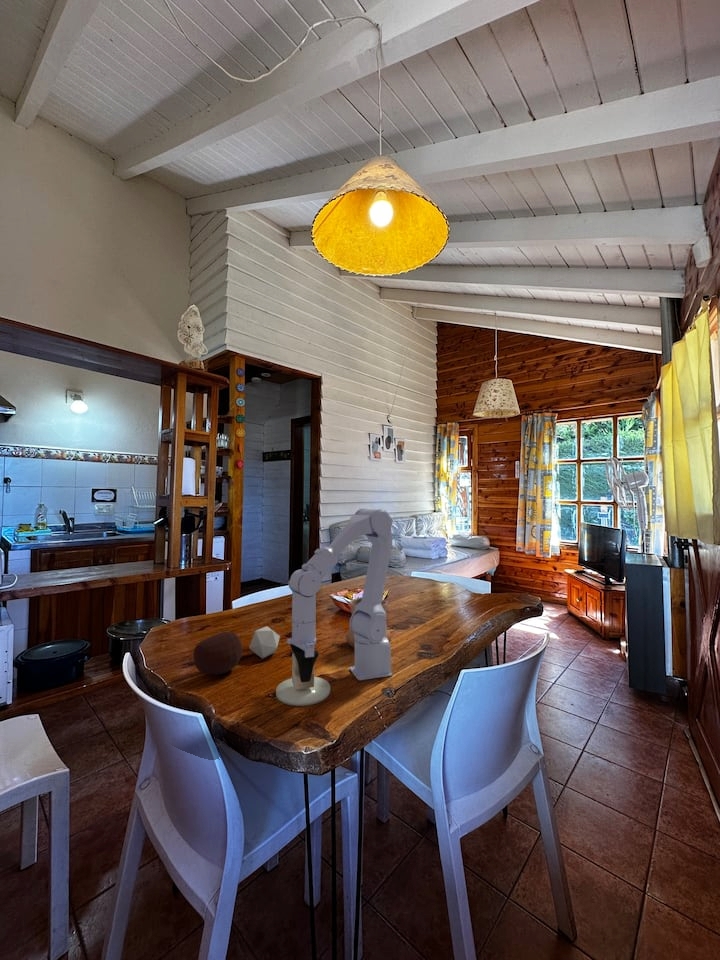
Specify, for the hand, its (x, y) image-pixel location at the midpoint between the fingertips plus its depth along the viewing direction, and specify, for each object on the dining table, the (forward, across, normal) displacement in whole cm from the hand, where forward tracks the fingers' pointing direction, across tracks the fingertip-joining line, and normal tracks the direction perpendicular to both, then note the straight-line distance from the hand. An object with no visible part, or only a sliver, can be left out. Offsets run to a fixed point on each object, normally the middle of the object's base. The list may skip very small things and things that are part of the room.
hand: (303, 676), depth 97 cm
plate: (+4, 0, 0) cm, 4 cm away
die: (+4, -27, -6) cm, 28 cm away
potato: (+4, -18, -20) cm, 27 cm away
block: (+2, 0, 0) cm, 2 cm away
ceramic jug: (+4, -24, +26) cm, 35 cm away
